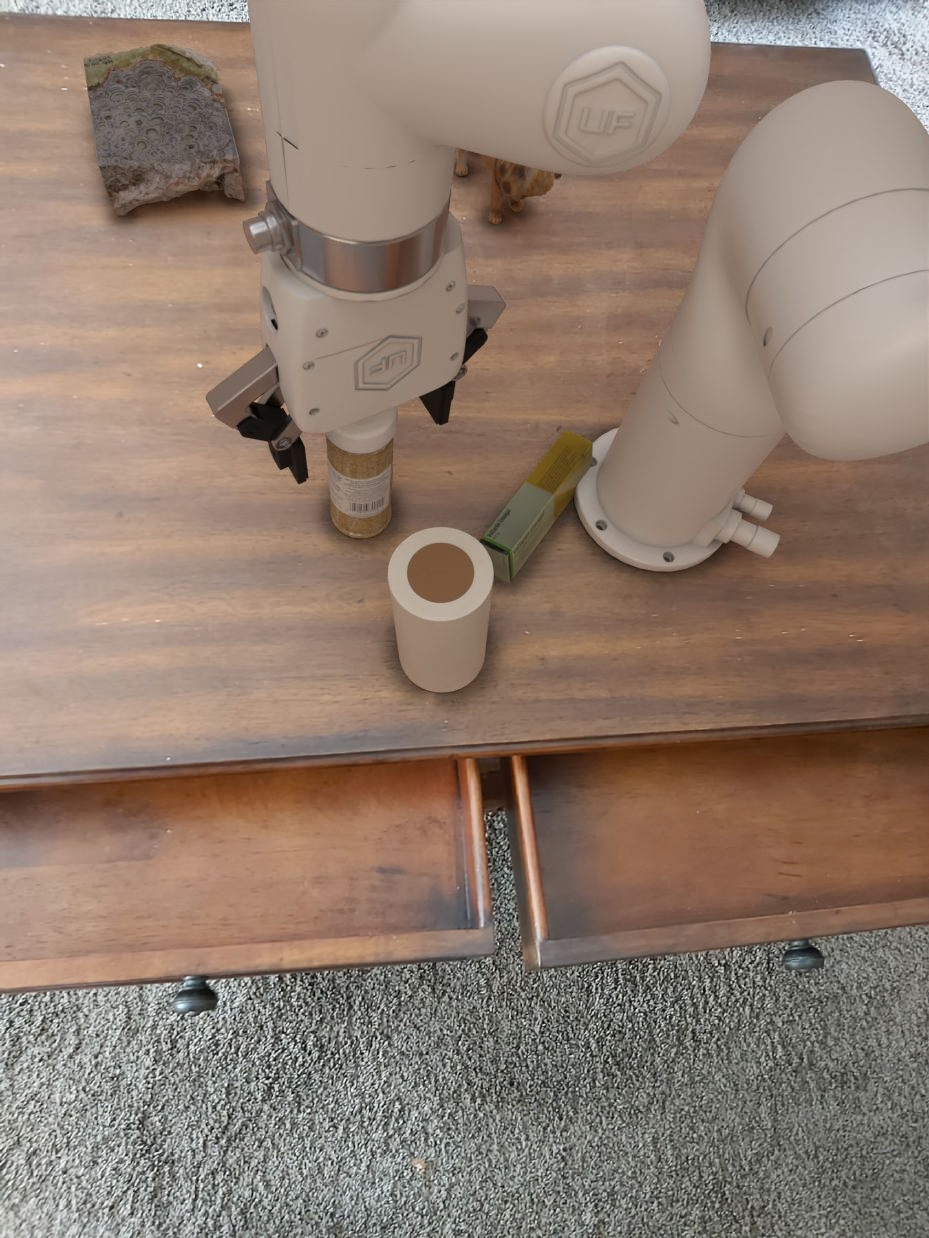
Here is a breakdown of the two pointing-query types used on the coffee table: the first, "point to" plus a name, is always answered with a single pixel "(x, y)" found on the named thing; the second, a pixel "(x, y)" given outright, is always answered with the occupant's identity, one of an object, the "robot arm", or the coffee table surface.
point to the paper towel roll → (441, 606)
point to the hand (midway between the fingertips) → (363, 435)
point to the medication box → (537, 504)
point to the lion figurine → (510, 182)
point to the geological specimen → (160, 126)
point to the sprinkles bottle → (362, 474)
